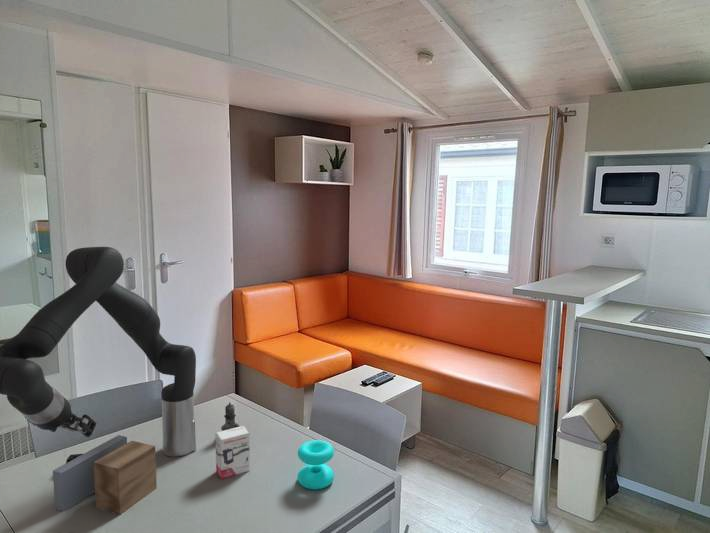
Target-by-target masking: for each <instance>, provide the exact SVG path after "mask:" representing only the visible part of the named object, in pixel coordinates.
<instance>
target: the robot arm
mask: <svg viewBox="0 0 710 533" xmlns="http://www.w3.org/2000/svg"><path fill="white" fill-rule="evenodd" d="M124 268H125V263H124V258H123V256H122V254H121V252H120V251H119V250H118V249H116V248H114V247H110V246H88V247H87V246H85V247H78V248H75V249H73V250H71V251H70V252H69V253H68V254H67V256H66V258H65V270H66V273H67V274H68V276H69V278H70V279H71V280H72V282H73V283H74V285H73V286H72V287H70V288H69V289H68V290H66V291H64V292H63V293H62V294H60V295H58V296H57V297H55V298H54V299H52V300H51V301H50V302H48V303H46V304H45V305H43V307H42V308H40V309H39V310H38V311H37V312H36V313H35V314H33V316H32V317H31V318H30V319H29V320H28V322H27V323H26V324H25V325H24V327H23V328H22V329H21V330H20V331H19V332H18V333H17V334H16V335H14V336H13V337H11V338H10V339H8V340H7V341H5V342H4V343H2V344H1V345H0V395H3V396H4V395H5V396H6V398H7V401H8V403H9V404H10V405H11V406H12V407H13V408H14V409H16V410H17V411H18V412H20V413H21V414H22V416H23V417H24V418H25V419H26V420H27V421H28V422H29V423H30V424H31V425H33V426H36V428H38V429H40V430H44V431H50V432H52V433H55V432H56V431H57V430H58V428H59V429H65V430H68V431H70V432H79V433H81V434H82V436H83V435H84V436H85V437H86V438H90V437H91V436H93V433H94V431H95V428H96V425H98V424H97V422H96V421H95V420H94V419H93V418H91V416H89V415H88V414H83V415H82V416H81V415H78V414H75V413H74V412H73V411H72V406H71V403H70V401H68V400H67V398H65V396H64V395H62V394H61V393H60V391H58V390H57V389H56V388H55V387H53V386H51V385H50V384H49V382H47V381H46V378H45V375H44V371H43V368H42V367H41V365H39V364H38V363H37V362H34V361H32V360H30V359H33V358H34V359H37V358H38V359H39V358H44V357H47V356H48V355H50V354H51V353H52V352H53V350H54V349H55V348H56V347H57V346H58V344H59V343H60V342H61V340H62V339H63V338H64V336H65V334H66V333H67V332H68V331H69V329H70V328H71V327H72V326H73V325H74V323H75V322H76V321H77V320H78V319H79V318H80V317H81V316H82V315H83V314H84V312H86V311H87V310H88V309H90V307H91V306H92V305H93V304H94V303H95V302H97V303H98V304H99V305H100V307H101V308H103V310H104V311H105V312H106V313H107V314H108V315H109V316H110V317H111V318H112V319H113V320H114V322H116V323H117V325H118V326H119V327H120V328H121V329H122V331H124V332H125V334H127V335H128V336H129V337H130V339H131V340H133V342H134V343H135V344H136V345H137V346H138V348H140V349H141V351H142V352H143V353H144V355H145V356H146V357H147V359H148V360H149V362H150V364H151V365H152V367H153V368H154V369H155V370H156V371H157V372H159V373H160V374H162V375H165V376H166V375H168V376H173V377H174V380H173V383H169V384H167V385H165V386H164V387H163V388H161V395H160V396H161V422H162V424H161V426H162V450H163V451H162V452H163V454H164V455H165V456H168V457H172V458H173V457H182V456H186V455H188V454H190V453H192V452H195V451H197V443H196V442H197V441H196V421H195V404H194V403H195V402H194V401H195V400H194V397H195V394H194V391H195V390H194V389H195V385H196V372H197V356H196V352H195V350H194V348H193V347H192V346H189V345H184V344H183V345H182V344H181V345H180V344H173V343H170V342H169V341H167V340H166V339H165V338H164V337H163V335H162V334H161V333H160V329H161V319H160V317H159V315H158V313H157V312H156V310H155V309H154V308H153V306H152V305H151V304H150V303H149V302H148V301H147V300H146V299H145V298H143V297H142V296H141V295H139V294H137V293H136V292H133V291H132V290H130V289H127V288H126V287H124V286H123V285H120V284H119V283H118V282H117V281H118V280H120V278H121V276H122V274H123V272H124ZM72 425H73V426H72ZM71 426H72V427H71Z"/></svg>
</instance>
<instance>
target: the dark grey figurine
mask: <svg viewBox="0 0 710 533" xmlns="http://www.w3.org/2000/svg"><path fill="white" fill-rule="evenodd" d="M224 409H225V414H224V418H225V421H224V422H225V423H224V424H223V425H221V427H220V429H221V431H224V430H228V429H232V428H236V427H240V424H239V423H236V416H237V415H236V413H235V405H234V404H232V403H231V402H229V403H228V404H227V405H225V407H224Z"/></svg>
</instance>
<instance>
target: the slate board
mask: <svg viewBox="0 0 710 533" xmlns="http://www.w3.org/2000/svg"><path fill="white" fill-rule="evenodd" d="M127 443H128V437H127V436H125V435H120V434H117V435H116V436H114V437H112V438H110V439H109V440H107V441H105V442H103V443H101V444H99V445H98V446H95V447H93V448H92V449H90V450H88V451H87V452H85V453H81V454H82V455H81V456H79V457H77V458H75V459H73V460H71V461H69V462H68V463H66V462H65V463H64V464H62V465H61V466H58V467H57V468H55V469H53V470H52V479H53V480H52V481H53V495H54V496H53V497H54V500H53V501H54V509H56V510H58V511H62V512H66V511H67V510H68V509H70V508H71V507H72V506H74V505H76V504H77V503H79V502H80V501H82V500H84V499H85V498H87V497H88V496H90V495H91V494H93V493H95V481H94V462H95V461H97V460H99V459H100V458H102V457H104V456H106V455H107V454H109V453H111V452H113V451H114V450H116V449H118V448H120V447H121V446H123V445H125V444H127Z"/></svg>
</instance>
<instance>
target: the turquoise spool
mask: <svg viewBox="0 0 710 533" xmlns="http://www.w3.org/2000/svg"><path fill="white" fill-rule="evenodd" d="M334 454H335V450H334V447H333V445H332V444H330V443H329V442H328V441H325V440H320V439H314V440H308V441H305V442H304V443H303V442H302V444H301V445H300V446H299V448H298V449H297V457H298V459H299V460H300V461H301V462H302V463H304V464H306V465H304V466H303V467H301V468H300V470H299V471H298V473H297V481H298V483H299V484H300V485H301V486H302V487H304V488H306V489H309V490H321V489H325V488H326V487H328V486H330V484H332V482H333V481H334V477H335V474H334V471H333V469H332V468H331V466H329V465H327V463H329V462H330V461H331V460H332V458H334Z"/></svg>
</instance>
